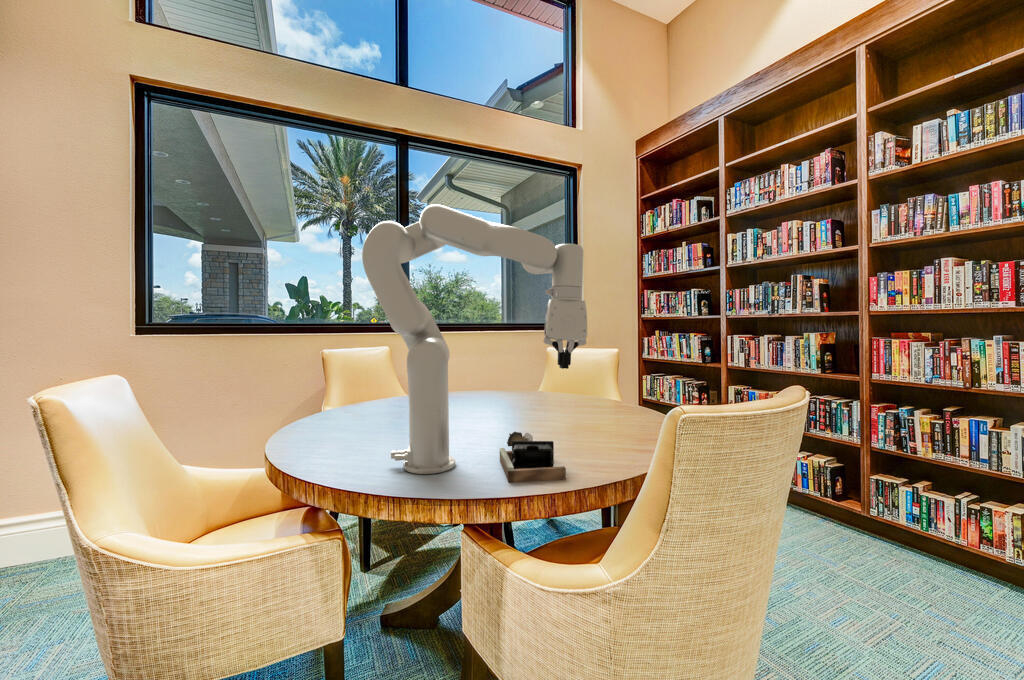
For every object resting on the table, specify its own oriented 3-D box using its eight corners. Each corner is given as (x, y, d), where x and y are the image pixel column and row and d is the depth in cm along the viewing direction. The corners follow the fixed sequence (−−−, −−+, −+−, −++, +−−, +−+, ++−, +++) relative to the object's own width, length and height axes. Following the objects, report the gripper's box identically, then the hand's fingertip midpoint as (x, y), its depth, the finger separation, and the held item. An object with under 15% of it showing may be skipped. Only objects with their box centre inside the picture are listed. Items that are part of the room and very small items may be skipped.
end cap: (553, 465, 109) (553, 438, 109) (554, 475, 102) (554, 446, 102) (512, 464, 110) (512, 437, 110) (511, 474, 103) (510, 445, 102)
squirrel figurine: (501, 445, 123) (500, 449, 114) (515, 423, 123) (515, 425, 114) (524, 461, 122) (525, 465, 113) (538, 439, 123) (540, 441, 114)
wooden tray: (508, 482, 97) (508, 467, 97) (499, 461, 113) (499, 448, 112) (565, 479, 99) (565, 464, 99) (549, 458, 115) (549, 445, 114)
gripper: (539, 292, 106) (537, 369, 106) (600, 295, 108) (597, 370, 108) (534, 294, 113) (531, 366, 114) (591, 296, 115) (588, 367, 116)
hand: (563, 367), depth 111 cm, fingers closed
